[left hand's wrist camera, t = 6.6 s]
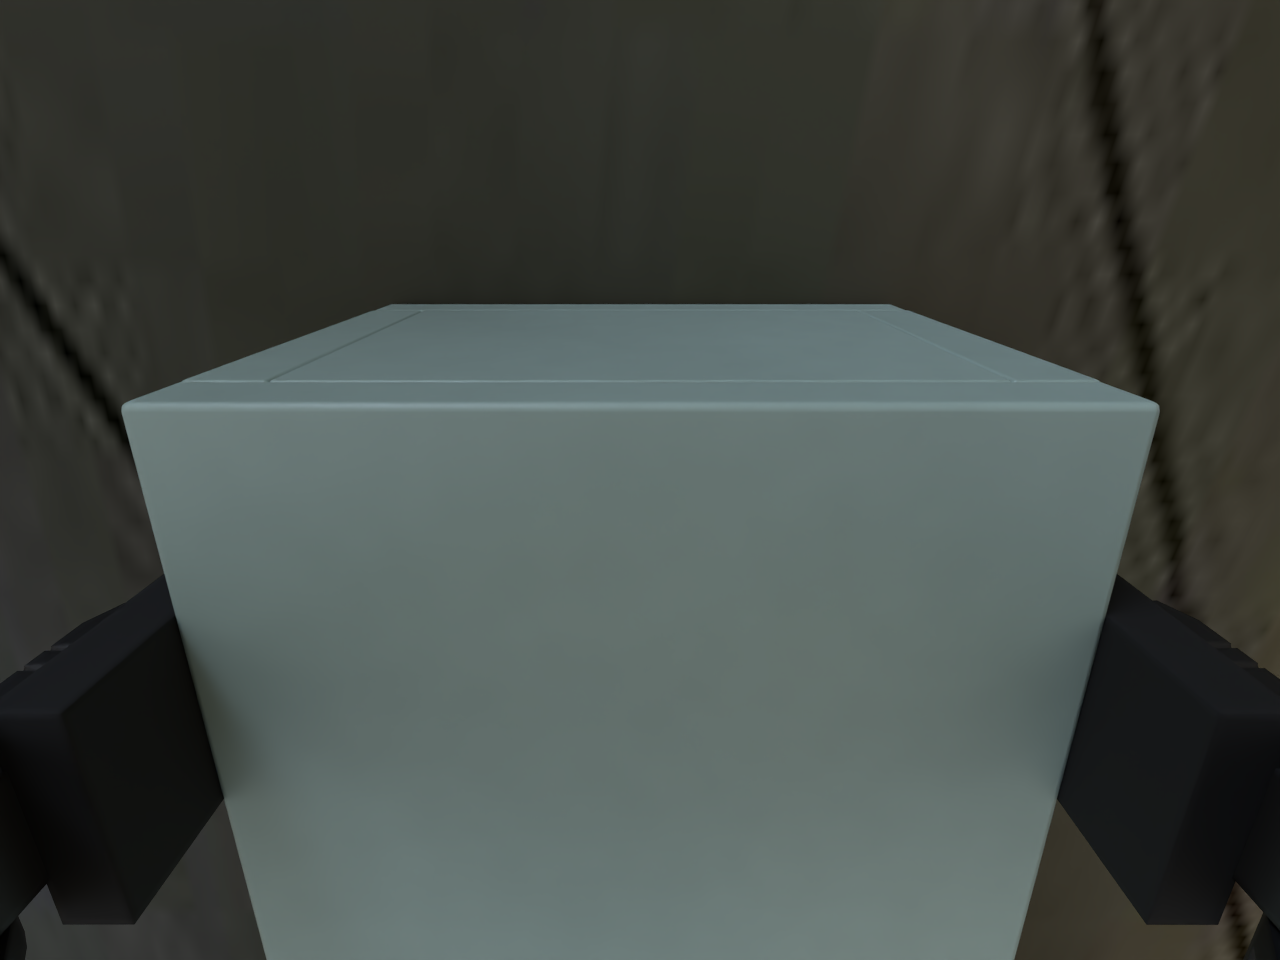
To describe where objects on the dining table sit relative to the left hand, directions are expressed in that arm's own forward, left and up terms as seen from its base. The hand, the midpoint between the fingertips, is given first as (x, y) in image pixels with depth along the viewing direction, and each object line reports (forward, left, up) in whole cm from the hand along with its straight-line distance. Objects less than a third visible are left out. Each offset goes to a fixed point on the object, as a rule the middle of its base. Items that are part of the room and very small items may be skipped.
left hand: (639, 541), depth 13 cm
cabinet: (+3, +5, -4) cm, 7 cm away
